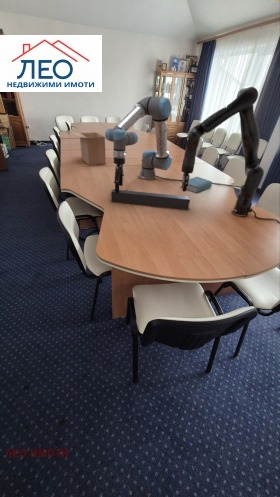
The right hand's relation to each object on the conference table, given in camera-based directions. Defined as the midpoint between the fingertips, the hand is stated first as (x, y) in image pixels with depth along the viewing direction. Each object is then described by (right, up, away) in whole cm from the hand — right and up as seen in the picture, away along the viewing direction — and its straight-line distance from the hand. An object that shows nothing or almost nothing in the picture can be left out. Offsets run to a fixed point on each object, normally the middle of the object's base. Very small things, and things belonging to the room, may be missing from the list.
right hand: (183, 188), depth 150 cm
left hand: (-45, +1, +5) cm, 45 cm away
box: (-80, +53, +87) cm, 130 cm away
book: (+19, +13, +43) cm, 48 cm away
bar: (-23, -9, +9) cm, 26 cm away
